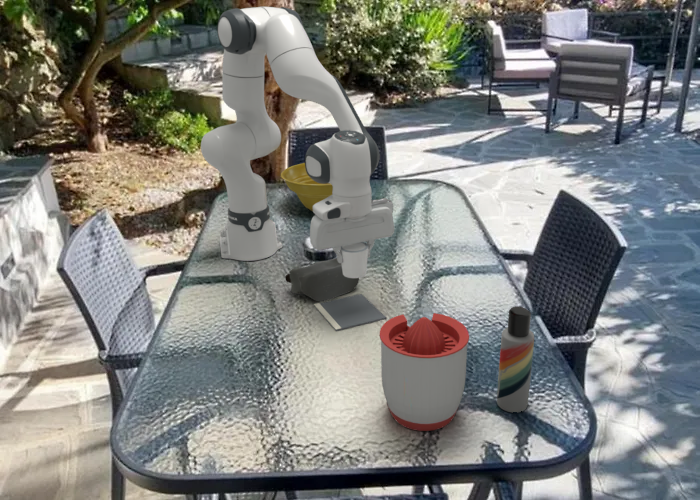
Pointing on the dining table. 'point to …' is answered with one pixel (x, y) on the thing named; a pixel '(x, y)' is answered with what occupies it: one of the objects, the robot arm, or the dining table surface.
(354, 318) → the mat
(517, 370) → the lotion bottle
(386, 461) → the dining table surface
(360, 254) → the shot glass
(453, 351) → the citrus juicer
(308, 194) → the planter bowl
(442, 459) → the dining table surface
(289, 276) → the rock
